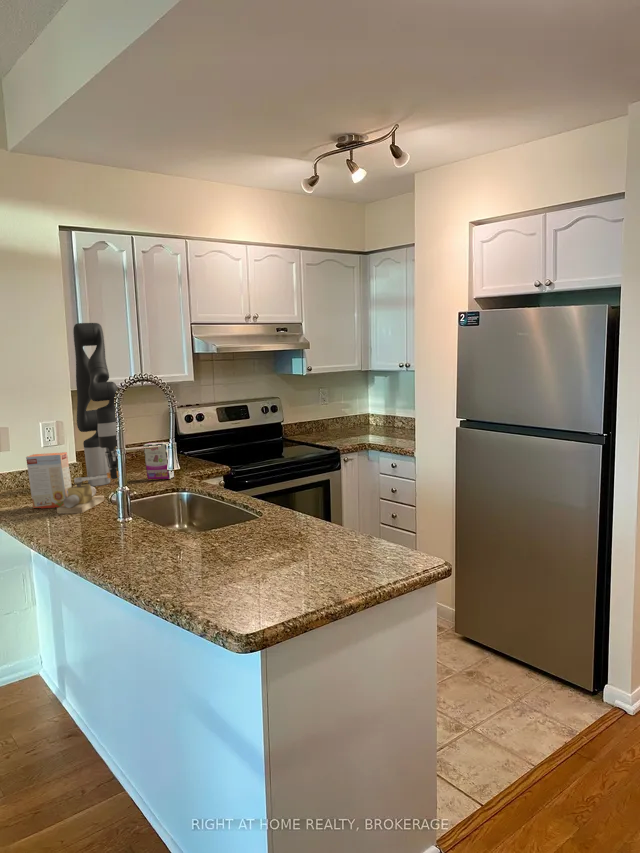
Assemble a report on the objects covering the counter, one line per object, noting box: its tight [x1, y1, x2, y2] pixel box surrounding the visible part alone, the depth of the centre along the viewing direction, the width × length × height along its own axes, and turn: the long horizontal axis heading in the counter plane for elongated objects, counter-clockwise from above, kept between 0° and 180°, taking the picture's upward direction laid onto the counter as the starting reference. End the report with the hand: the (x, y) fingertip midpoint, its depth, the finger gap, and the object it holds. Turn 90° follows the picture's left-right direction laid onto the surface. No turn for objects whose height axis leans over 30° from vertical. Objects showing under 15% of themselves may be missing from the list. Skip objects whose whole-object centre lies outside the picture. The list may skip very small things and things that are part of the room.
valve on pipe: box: [56, 483, 105, 514], centre depth 241 cm, size 17×10×9 cm, turn 172°
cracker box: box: [25, 451, 73, 509], centre depth 244 cm, size 14×6×21 cm, turn 84°
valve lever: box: [73, 470, 120, 485], centre depth 243 cm, size 16×3×2 cm, turn 115°
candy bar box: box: [143, 441, 175, 480], centre depth 281 cm, size 11×5×16 cm, turn 77°
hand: (114, 478), depth 242 cm, fingers closed
